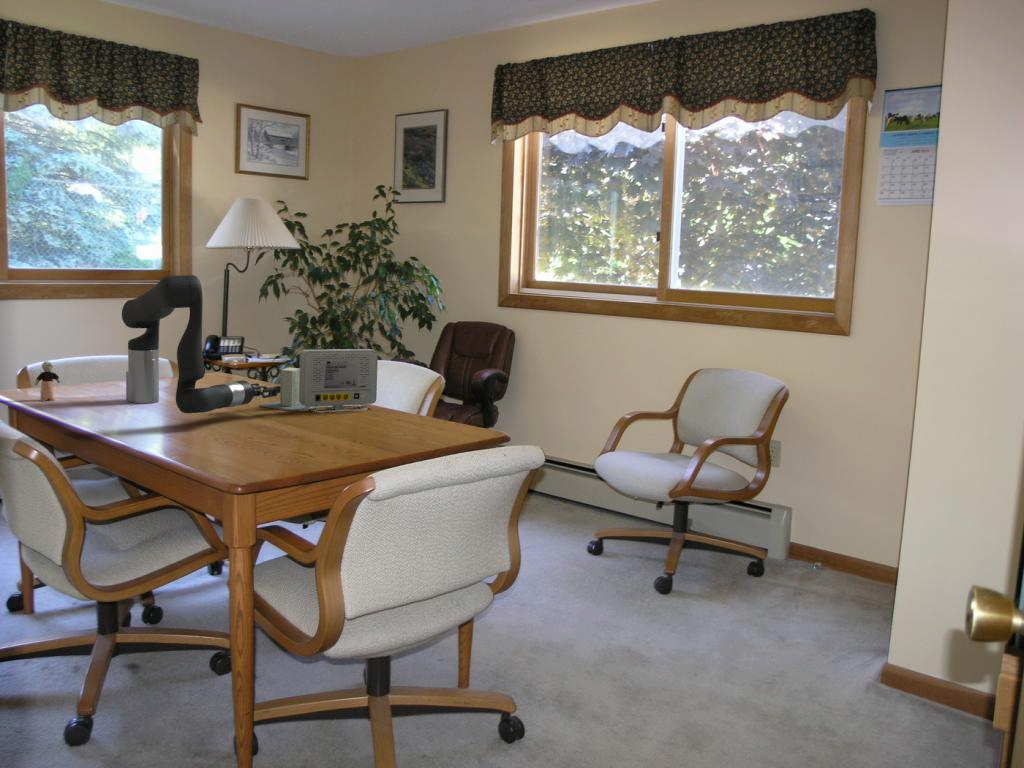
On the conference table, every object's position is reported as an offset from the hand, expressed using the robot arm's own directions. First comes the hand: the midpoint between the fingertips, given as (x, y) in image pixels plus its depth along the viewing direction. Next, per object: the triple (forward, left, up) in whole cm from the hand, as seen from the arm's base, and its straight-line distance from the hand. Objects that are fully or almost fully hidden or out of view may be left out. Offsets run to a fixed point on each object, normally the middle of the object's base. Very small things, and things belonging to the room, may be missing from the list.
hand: (268, 387), depth 282 cm
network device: (+16, +16, -8) cm, 24 cm away
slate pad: (0, +11, -7) cm, 13 cm away
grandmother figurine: (-64, -29, -8) cm, 71 cm away
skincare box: (0, +10, -7) cm, 13 cm away
